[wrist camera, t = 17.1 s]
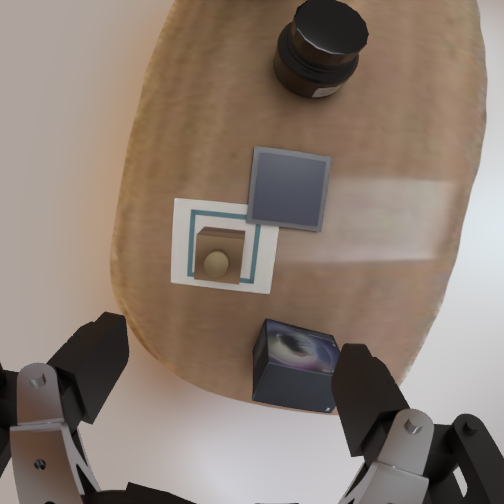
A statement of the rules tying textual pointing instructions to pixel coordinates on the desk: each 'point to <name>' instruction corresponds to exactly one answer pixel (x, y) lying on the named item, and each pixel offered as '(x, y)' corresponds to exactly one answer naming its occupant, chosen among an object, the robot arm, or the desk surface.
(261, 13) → the desk surface
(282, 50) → the ink bottle
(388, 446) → the robot arm
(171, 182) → the desk surface
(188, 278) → the sheet
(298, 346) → the small box
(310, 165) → the ink pad
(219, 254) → the stamp
